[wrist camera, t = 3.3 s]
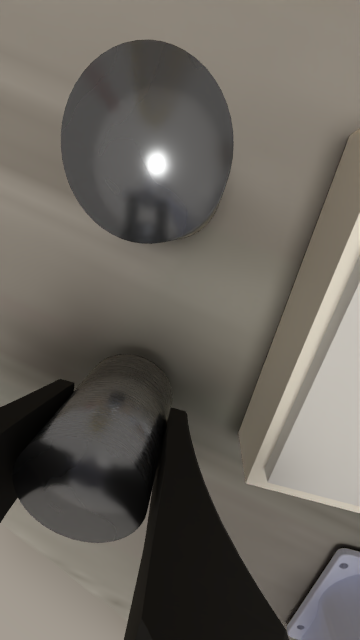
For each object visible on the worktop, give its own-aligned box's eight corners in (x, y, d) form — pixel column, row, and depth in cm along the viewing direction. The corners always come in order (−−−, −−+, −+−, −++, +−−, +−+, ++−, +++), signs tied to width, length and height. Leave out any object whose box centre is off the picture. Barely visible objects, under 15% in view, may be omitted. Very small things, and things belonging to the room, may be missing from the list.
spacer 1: (208, 248, 11) (207, 259, 7) (119, 227, 11) (56, 223, 7) (234, 143, 10) (257, 62, 5) (133, 120, 10) (67, 20, 5)
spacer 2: (163, 436, 13) (135, 556, 8) (84, 416, 13) (12, 522, 8) (180, 366, 11) (159, 460, 7) (93, 344, 12) (12, 420, 7)
